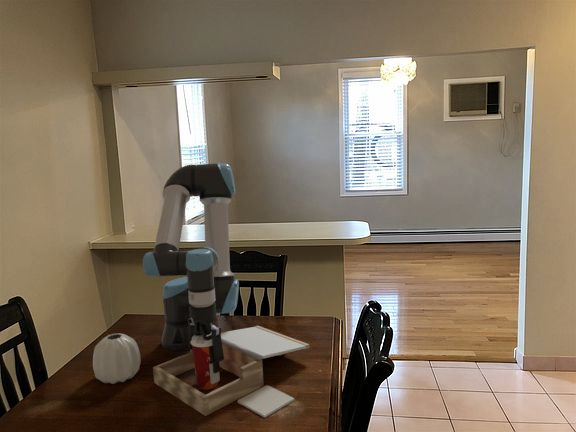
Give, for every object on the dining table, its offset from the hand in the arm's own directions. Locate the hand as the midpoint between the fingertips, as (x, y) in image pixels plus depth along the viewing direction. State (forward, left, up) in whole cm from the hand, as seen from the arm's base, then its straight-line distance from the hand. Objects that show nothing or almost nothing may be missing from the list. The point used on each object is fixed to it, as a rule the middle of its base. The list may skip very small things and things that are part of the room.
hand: (207, 377), depth 137 cm
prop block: (0, +28, -2) cm, 28 cm away
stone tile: (+20, +5, -2) cm, 21 cm away
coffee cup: (0, 0, -2) cm, 2 cm away
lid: (0, +20, +2) cm, 20 cm away
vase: (-25, -16, -2) cm, 30 cm away
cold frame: (0, 0, -2) cm, 2 cm away
